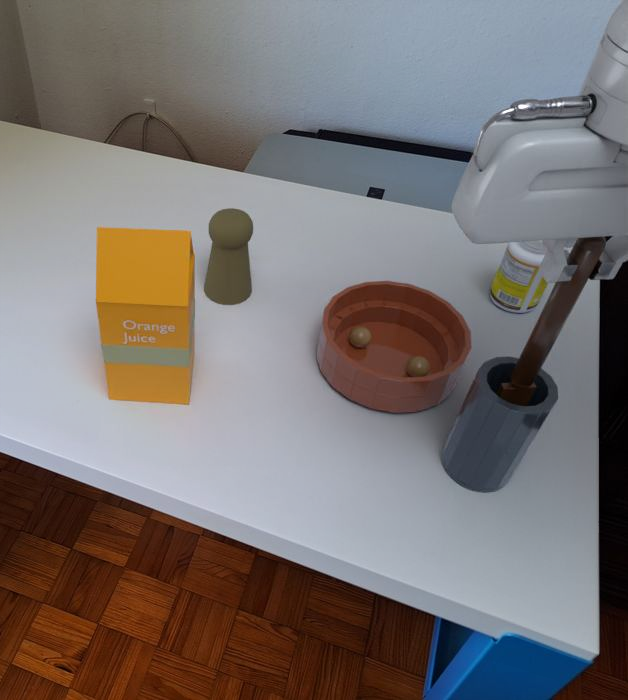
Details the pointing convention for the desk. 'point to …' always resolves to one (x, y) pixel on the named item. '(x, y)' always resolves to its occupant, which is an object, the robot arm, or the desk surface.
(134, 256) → the orange juice
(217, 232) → the olive game pawn
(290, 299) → the desk surface
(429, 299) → the bowl
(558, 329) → the stir paddle
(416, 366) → the bead
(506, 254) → the supplement bottle
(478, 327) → the desk surface
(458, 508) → the desk surface
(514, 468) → the crock
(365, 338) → the bead
